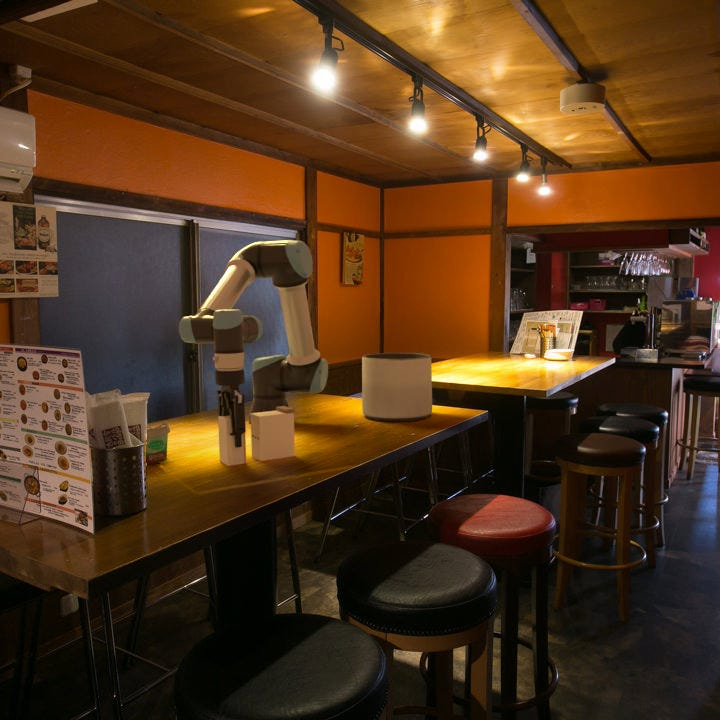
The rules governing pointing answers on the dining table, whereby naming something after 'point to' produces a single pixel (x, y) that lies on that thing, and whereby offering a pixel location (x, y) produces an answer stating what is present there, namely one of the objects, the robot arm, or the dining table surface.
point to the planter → (396, 386)
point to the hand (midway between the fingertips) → (232, 456)
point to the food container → (157, 444)
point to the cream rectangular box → (273, 434)
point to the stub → (228, 442)
